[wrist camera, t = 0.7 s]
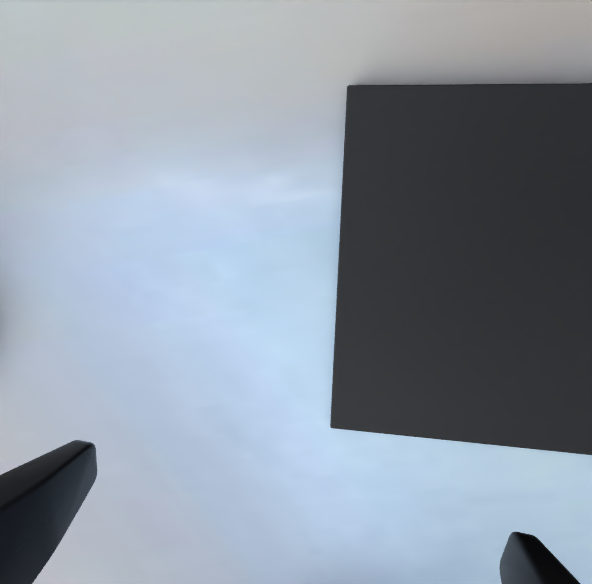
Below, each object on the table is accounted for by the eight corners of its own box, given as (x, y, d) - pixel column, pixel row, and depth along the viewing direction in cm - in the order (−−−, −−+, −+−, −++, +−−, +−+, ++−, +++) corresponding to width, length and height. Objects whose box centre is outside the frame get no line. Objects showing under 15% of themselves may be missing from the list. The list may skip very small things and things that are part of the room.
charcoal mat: (715, 462, 22) (725, 469, 21) (330, 422, 24) (330, 428, 24) (833, 84, 17) (850, 80, 17) (347, 88, 20) (347, 85, 19)
